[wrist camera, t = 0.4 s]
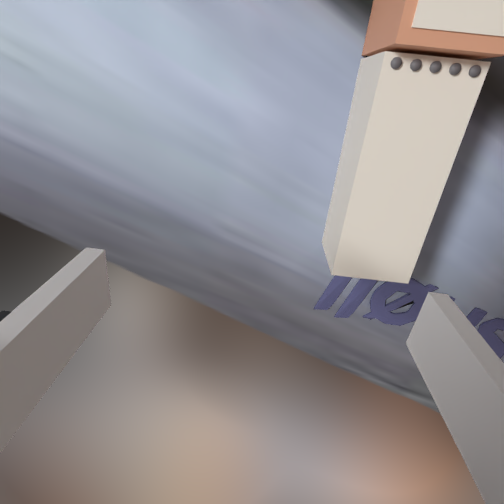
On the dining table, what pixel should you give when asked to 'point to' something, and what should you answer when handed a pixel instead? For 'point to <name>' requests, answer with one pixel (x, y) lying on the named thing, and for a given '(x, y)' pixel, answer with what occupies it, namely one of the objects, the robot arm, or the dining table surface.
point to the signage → (400, 305)
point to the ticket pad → (397, 160)
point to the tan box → (437, 28)
